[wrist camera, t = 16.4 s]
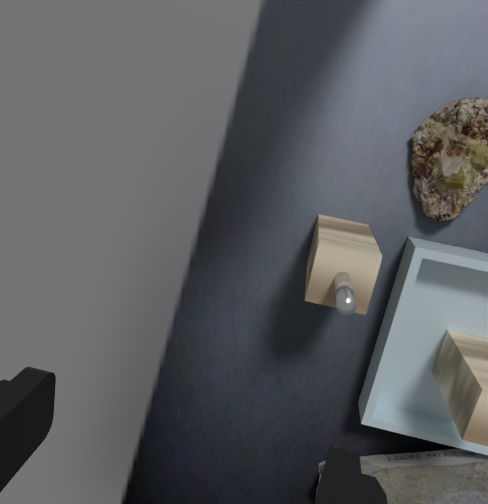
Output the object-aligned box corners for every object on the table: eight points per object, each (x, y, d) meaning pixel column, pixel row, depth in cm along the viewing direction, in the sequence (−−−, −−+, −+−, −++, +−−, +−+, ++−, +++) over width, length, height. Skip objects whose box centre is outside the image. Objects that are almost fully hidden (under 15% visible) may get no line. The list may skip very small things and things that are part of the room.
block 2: (446, 329, 44) (482, 389, 34) (497, 340, 43) (547, 405, 34) (431, 371, 45) (462, 441, 35) (480, 382, 45) (524, 456, 35)
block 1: (318, 214, 43) (318, 264, 29) (368, 224, 43) (393, 280, 28) (307, 260, 44) (302, 330, 30) (355, 271, 44) (373, 346, 30)
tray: (408, 236, 42) (415, 246, 39) (591, 274, 41) (615, 289, 38) (358, 402, 48) (360, 423, 45) (518, 441, 46) (533, 466, 43)
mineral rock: (428, 82, 37) (539, 105, 34) (431, 86, 41) (532, 108, 38) (384, 211, 40) (482, 241, 38) (391, 204, 44) (480, 231, 42)
